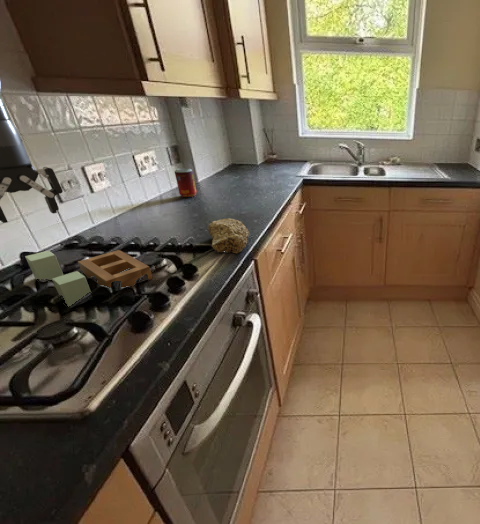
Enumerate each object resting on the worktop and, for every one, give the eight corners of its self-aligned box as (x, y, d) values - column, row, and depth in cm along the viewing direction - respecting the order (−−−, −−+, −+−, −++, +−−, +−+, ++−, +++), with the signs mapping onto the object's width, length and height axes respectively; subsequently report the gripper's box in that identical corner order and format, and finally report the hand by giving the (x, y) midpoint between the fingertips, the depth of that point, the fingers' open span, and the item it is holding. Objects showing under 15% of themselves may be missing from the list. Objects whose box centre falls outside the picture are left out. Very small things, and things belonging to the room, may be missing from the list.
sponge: (251, 257, 99) (253, 222, 114) (242, 236, 94) (245, 202, 109) (206, 267, 97) (214, 230, 112) (194, 246, 92) (205, 211, 107)
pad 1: (41, 283, 79) (30, 261, 77) (35, 278, 81) (24, 256, 79) (64, 276, 82) (55, 254, 80) (57, 271, 85) (48, 250, 82)
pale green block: (69, 309, 70) (59, 284, 68) (62, 302, 72) (51, 278, 70) (94, 300, 74) (85, 276, 71) (86, 294, 76) (77, 270, 73)
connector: (110, 294, 76) (106, 281, 75) (82, 273, 84) (77, 261, 83) (152, 278, 83) (149, 266, 81) (122, 261, 91) (119, 249, 89)
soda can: (181, 194, 153) (175, 167, 148) (198, 194, 155) (193, 167, 150) (178, 198, 147) (172, 170, 142) (196, 198, 149) (190, 170, 144)
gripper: (36, 139, 76) (62, 207, 83) (-59, 144, 65) (-19, 221, 73) (47, 142, 72) (74, 213, 80) (-51, 147, 62) (-10, 229, 69)
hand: (30, 217), depth 76 cm, fingers open, 8 cm apart
